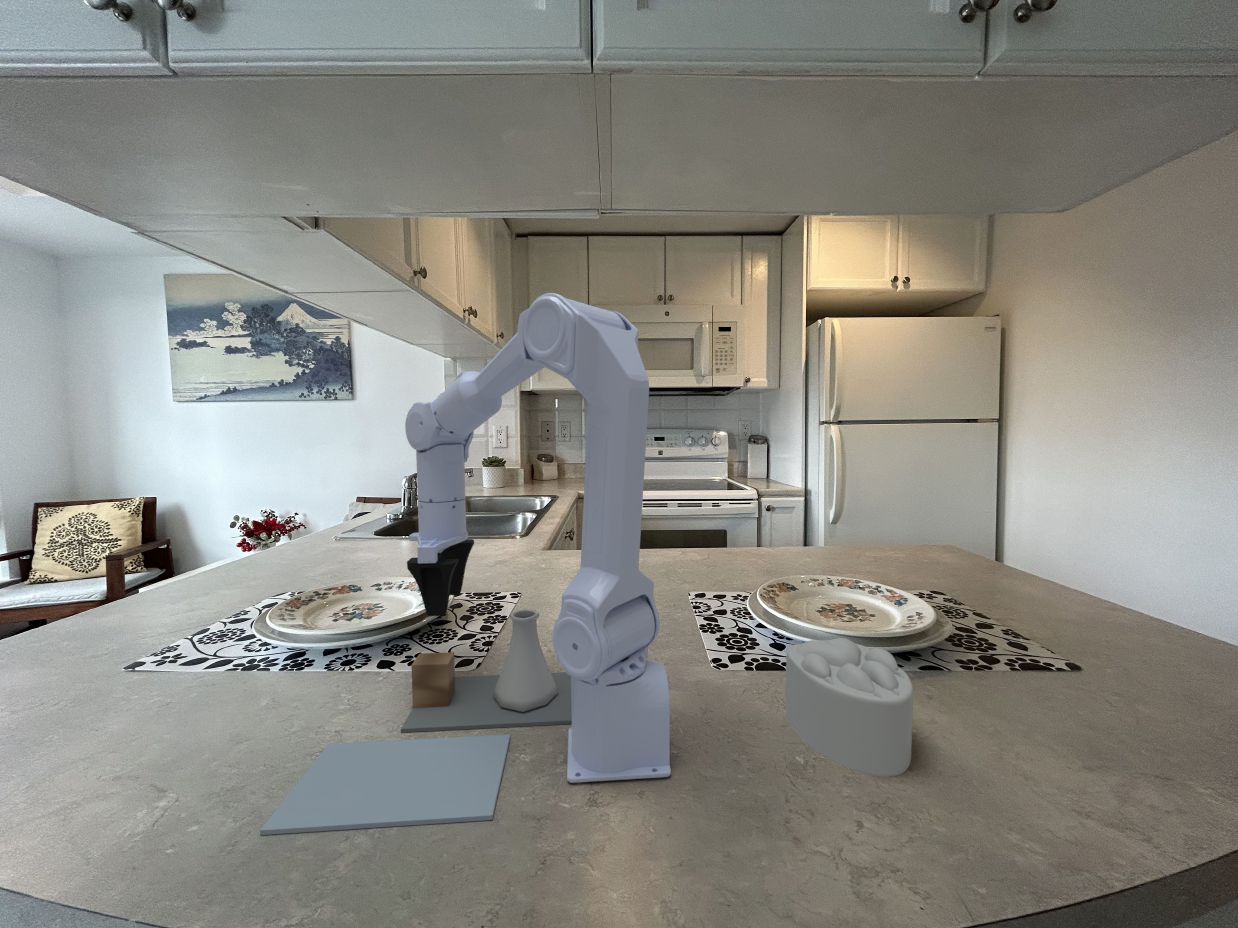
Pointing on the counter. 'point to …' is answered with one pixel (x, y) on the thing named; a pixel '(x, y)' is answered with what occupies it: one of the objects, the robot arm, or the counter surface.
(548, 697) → the flask
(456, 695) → the charcoal mat
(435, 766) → the slate mat
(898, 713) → the lumpy-topped squat cylinder
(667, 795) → the counter surface
